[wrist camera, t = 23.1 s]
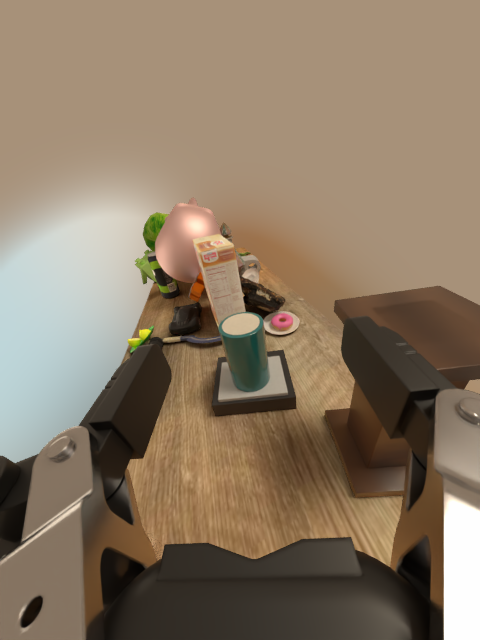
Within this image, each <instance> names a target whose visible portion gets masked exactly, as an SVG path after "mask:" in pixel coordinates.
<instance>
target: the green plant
mask: <svg viewBox="0 0 480 640" xmlns="http://www.w3.org/2000/svg"><path fill="white" fill-rule="evenodd" d="M152 252H153V251H149V250H146V251H145V252H144V253H145V256H144V257H143V258H142V259H139V258H138V259H136V261H135V262H137V263H136V264H135V265H136V266H137V267H138V268H139V269H140V270H141V274H142V279H143V284H145V283H147V277H148V278H150V279H152V280H153V281H155V282H157V281H156V279H155V276H154V274H153V271H152V269H151V266H150V264H149V261H148V256H147V255H148V254H149V253H152Z"/></svg>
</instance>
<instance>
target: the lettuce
mask: <svg viewBox="0 0 480 640" xmlns="http://www.w3.org/2000/svg"><path fill="white" fill-rule="evenodd" d="M168 215H169V214H162V213H155V214H153V215H151V216H150V217H149V219H148V220H147V222H146V224H145V227H144V232H143V237H144V239H145V242H146V245H147V246H148V247H149V248H150V249H151V250H152V251H153V252H155V242H156V239H157V236H158V235H159V233H160V231H161V229H162V227H163V225H164V223H165V217H167V216H168Z"/></svg>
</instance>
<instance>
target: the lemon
mask: <svg viewBox="0 0 480 640" xmlns="http://www.w3.org/2000/svg"><path fill="white" fill-rule="evenodd" d="M153 328H154V326H152V327H150V328H149V329H144V330H139V332H140V333H139V336H140V338H134V339H128V343H129V345H130V346H132V349H131V350H130V353H131V352H134V351H135V350H136V348H137V347H138V346H142V345H143V344H144V343H145V342H146V341H147V339H148V338H149V337H150V335H151V334H152V332H153Z"/></svg>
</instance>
